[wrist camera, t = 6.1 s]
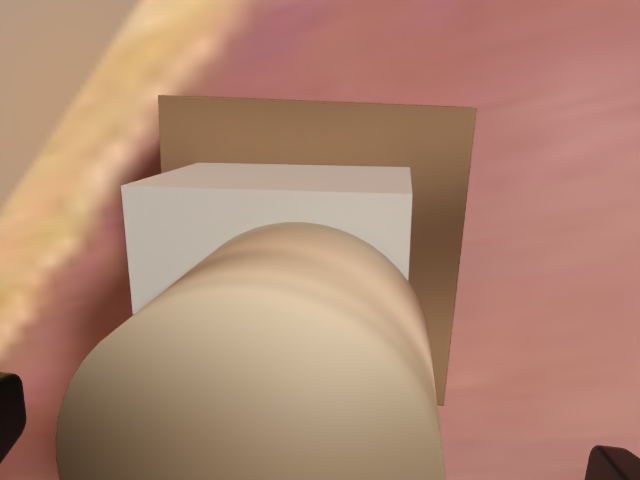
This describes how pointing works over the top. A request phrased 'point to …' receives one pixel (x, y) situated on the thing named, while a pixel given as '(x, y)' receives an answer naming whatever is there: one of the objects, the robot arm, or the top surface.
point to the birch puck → (263, 372)
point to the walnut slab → (350, 150)
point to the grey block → (255, 213)
